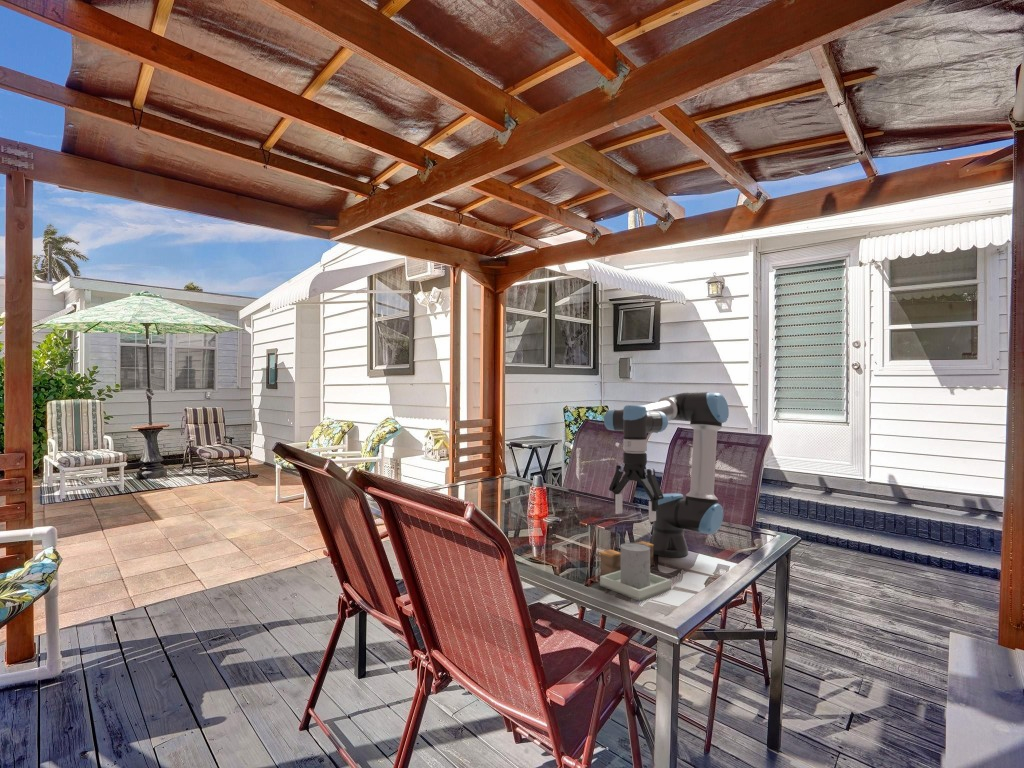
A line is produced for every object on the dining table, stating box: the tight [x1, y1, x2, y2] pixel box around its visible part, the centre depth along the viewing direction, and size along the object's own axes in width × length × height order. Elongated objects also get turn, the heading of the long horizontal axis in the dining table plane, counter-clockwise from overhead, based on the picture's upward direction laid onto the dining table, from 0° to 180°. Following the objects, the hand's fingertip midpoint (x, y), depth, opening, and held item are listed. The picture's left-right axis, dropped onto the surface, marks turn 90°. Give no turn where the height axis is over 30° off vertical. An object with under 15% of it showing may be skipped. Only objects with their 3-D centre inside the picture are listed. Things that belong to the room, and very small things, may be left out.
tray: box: [599, 570, 672, 602], centre depth 162 cm, size 16×16×3 cm
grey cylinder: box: [620, 542, 651, 589], centre depth 163 cm, size 10×10×12 cm
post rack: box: [599, 540, 654, 576], centre depth 180 cm, size 23×5×8 cm, turn 127°
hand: (635, 517), depth 163 cm, fingers open, 13 cm apart
